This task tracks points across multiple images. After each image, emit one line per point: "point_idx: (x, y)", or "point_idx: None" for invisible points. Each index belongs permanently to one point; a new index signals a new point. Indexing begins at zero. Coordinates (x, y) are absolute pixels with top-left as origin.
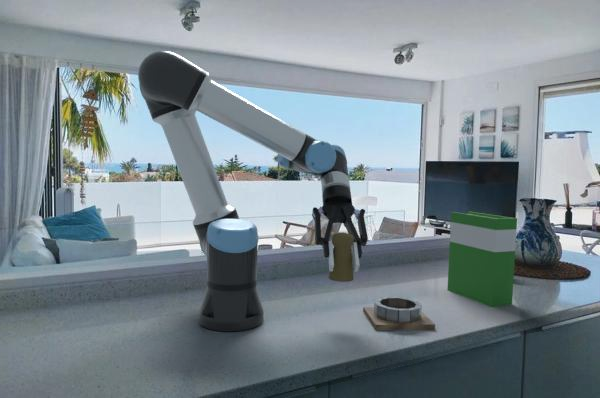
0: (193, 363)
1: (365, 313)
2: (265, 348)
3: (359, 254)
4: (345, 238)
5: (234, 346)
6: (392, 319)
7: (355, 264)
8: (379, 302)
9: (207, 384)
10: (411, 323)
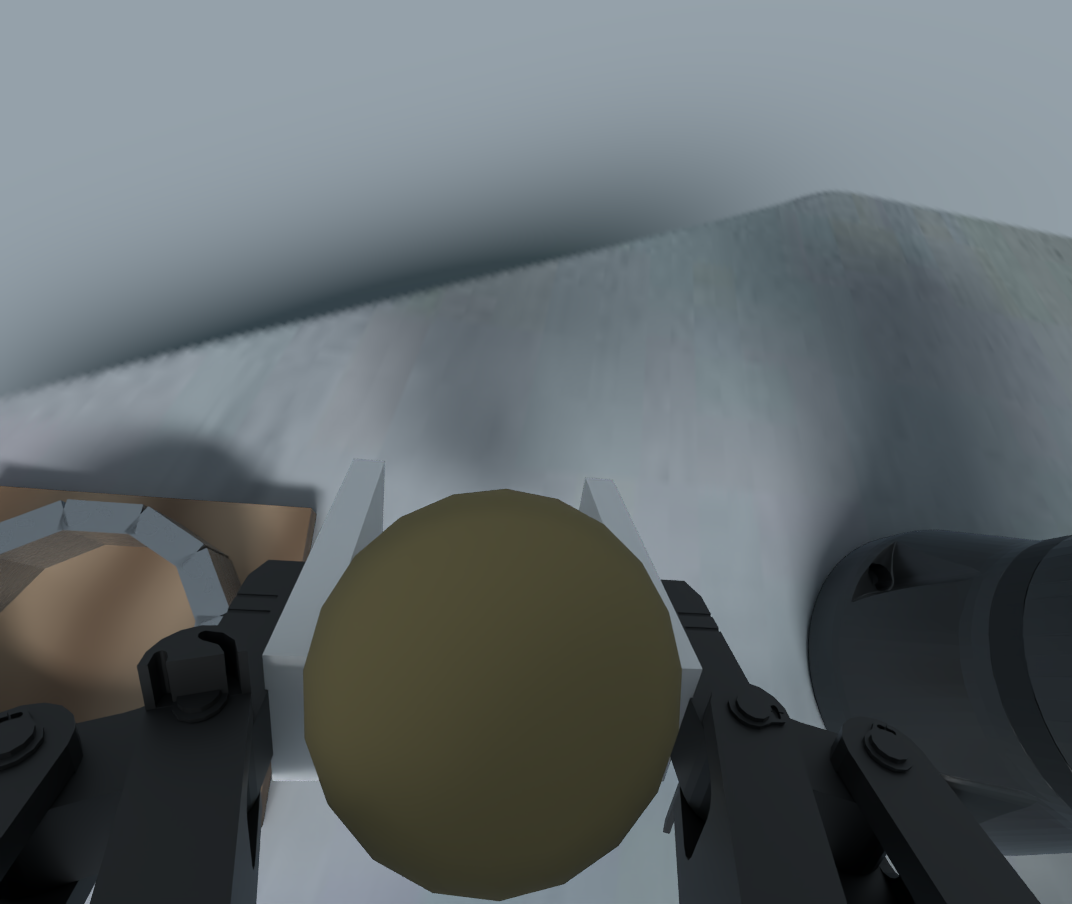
0: (927, 321)
1: None
2: (764, 386)
3: (292, 563)
4: (499, 492)
5: (857, 412)
6: (196, 535)
7: (379, 502)
8: None
9: (861, 221)
10: None
